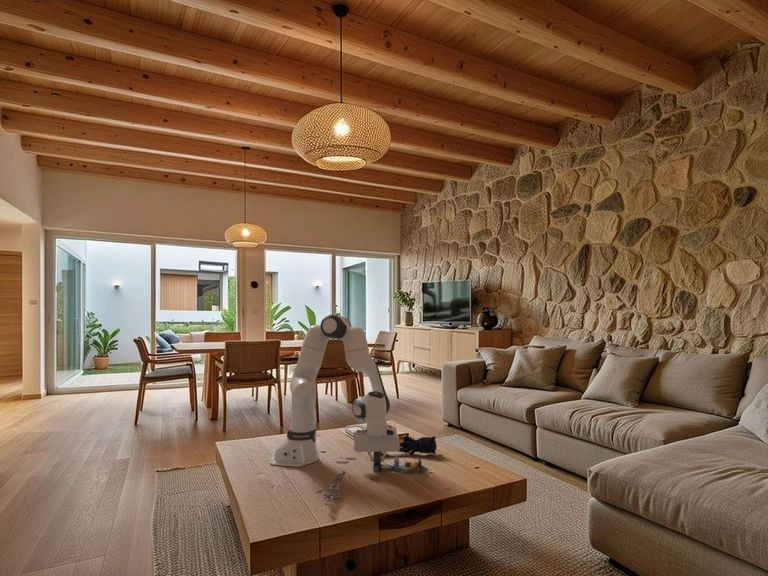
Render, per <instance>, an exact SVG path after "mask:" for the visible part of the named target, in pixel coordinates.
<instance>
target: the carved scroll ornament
mask: <svg viewBox="0 0 768 576" xmlns="http://www.w3.org/2000/svg"><path fill="white" fill-rule="evenodd" d="M345 475H346V471H345V470H344V471H343V470H342V473H339V474H337V475H336V478H334V479H331V480H330V485H329V487H327V489H326V490H324V495H325V497H324V501H325V503H324V505H325V506H330V504H331V502H332V500H334V499H335V500H337V499H339V498H340V497H341V494H340V492H339V490H340V486H341V485H342V483H343V480H344V476H345Z"/></svg>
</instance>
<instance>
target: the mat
mask: <svg viewBox="0 0 768 576" xmlns="http://www.w3.org/2000/svg"><path fill="white" fill-rule="evenodd" d="M421 466H422V473H405V469H412V468H411V467H405V464H402V465H401V464H399V471H394V469H391V470H392V473H391V474H392V475H426V470H425V465H424V464H421ZM417 469H419V467H418V468H417Z"/></svg>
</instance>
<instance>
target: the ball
mask: <svg viewBox="0 0 768 576" xmlns="http://www.w3.org/2000/svg"><path fill="white" fill-rule="evenodd" d="M410 462H411V464H410V466H411V468H412V469H417V468H418V463H417V462H418V461H416V460H415V461H410Z"/></svg>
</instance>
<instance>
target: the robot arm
mask: <svg viewBox="0 0 768 576" xmlns="http://www.w3.org/2000/svg"><path fill="white" fill-rule="evenodd" d="M330 340H341V341H342V343H343V347H344V355H345V361H346V364H347V365H348V366H349V367H350V368H351V369H352V370H355V371H359V372H361V373H363V374H365V375H366V376H368V378H369V381H370V382H369V383H370V385H371V388H372V390H371V391H369V392H368V393H367V394H366V395H363V396H361V397H357V398H355V399H354V401H353V402H352V404H351V405H352V406H351V411H352V414H353V416H354V417H355V418H357V419H358V420H366V429H356V430H355V431H354V432H353V434H352V437H353V440H354V445H353V450H354V452H356V453H358V452H359V453H367V455H368V457H369V458H370V463H374V456H372V453H374V452H382V453H383V455H382V456H381V463H383V462H385V458H386V455H387V452H389V453H390V452H392V453H393V452H394V453H395V452H398V451H399V450H400V437H399V434H398V433H397V432H398V431H397V430H398V429H397V427H396V426H395V425H390V424H389V423H387V414H388V412H389V410H390V407H391V403H390V402H391V401H390V398H389V397H388V395H387V393H386V390H385V386H384V382H383V378H382V375H381V371H380V369H379V366H378V364H377V362H376V360H374V359H373V358H372V356H371V354H370V351H369V350H370V349H369V345H368V344H369V343H368V341H367V336H366V333H365V330H364V329H363V328H362V327H359V326H352V324H351V321H350V320H349V319H348V318H346V317H344V316H341V315H339V314H337V315H336V314H329V315H326V316H324V318H323V319H322V320H321V321H320V324H312V325H311V326H310V327H309V328H308V330H307V332H306V333H305V336H304V338H303V341H302V345H301V348H300V352H299V355H298V359H297V362H296V365H295V368H294V371H293V374H292V377H291V380H290V382H289V391H290V392H291V393H290V394H291V409H290V410H291V411H290V427H288V429H287V431H286V437H287V438H285V439H284V440H282V441H281V442H280V443H279V444H278V445H277V446H276V447H275V452H274V454H273V455H272V456H271V457H270V459H269V465H271V466H284V467H295V468H296V467H297V468H299V467H300V468H301V467H304V466H305V465H309V464H313V463H315V462H317V461H319V458H320V457H319V454H318V450H317V442H316V440H317V429H316V420H315V419H316V416H315V415H316V414H315V413H316V402H317V401H316V400H317V398H316V397H317V387H316V384H315V381H316V379H317V375H318V374H319V370H320V369H321V366H322V363H323V359H324V355H325V353H326V348H327V346H328V345H327V344H328V342H330ZM398 453H399V452H398Z"/></svg>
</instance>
